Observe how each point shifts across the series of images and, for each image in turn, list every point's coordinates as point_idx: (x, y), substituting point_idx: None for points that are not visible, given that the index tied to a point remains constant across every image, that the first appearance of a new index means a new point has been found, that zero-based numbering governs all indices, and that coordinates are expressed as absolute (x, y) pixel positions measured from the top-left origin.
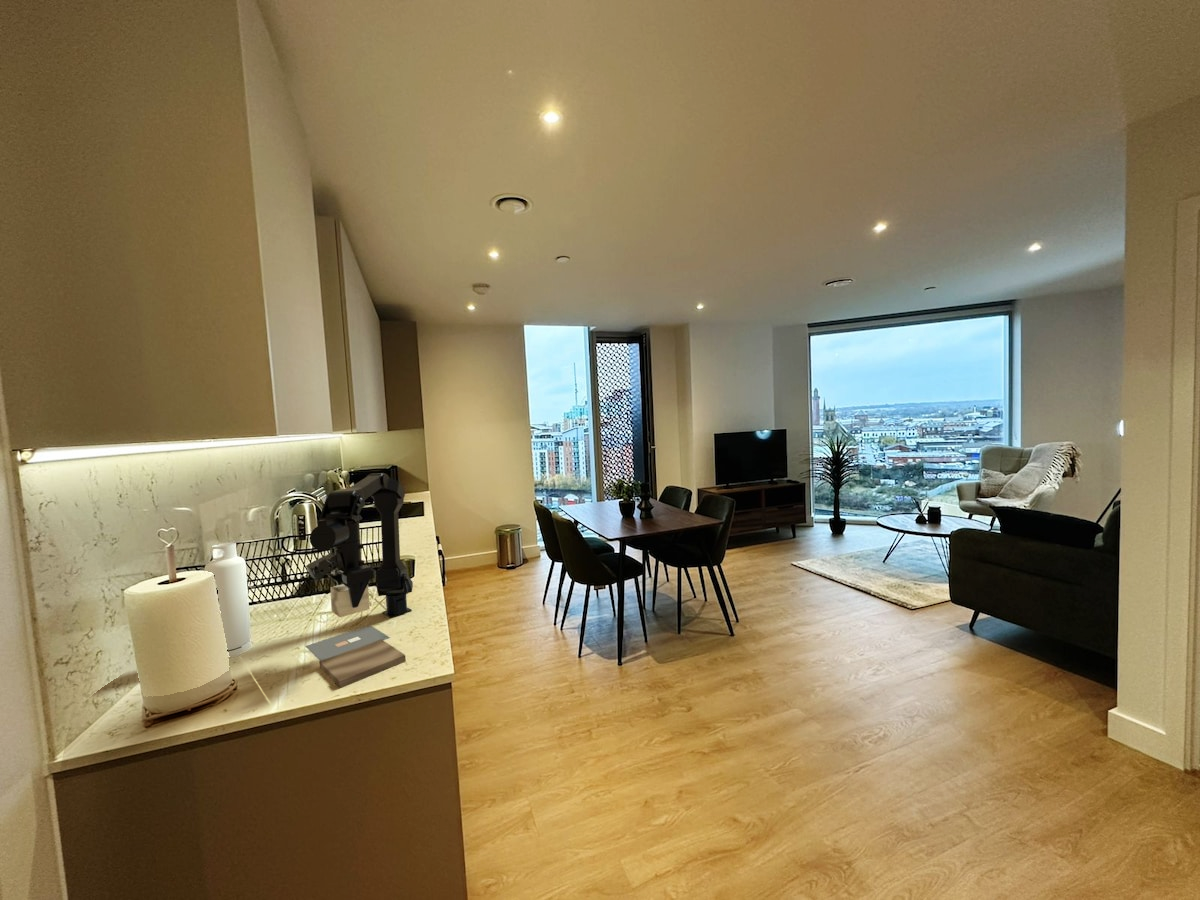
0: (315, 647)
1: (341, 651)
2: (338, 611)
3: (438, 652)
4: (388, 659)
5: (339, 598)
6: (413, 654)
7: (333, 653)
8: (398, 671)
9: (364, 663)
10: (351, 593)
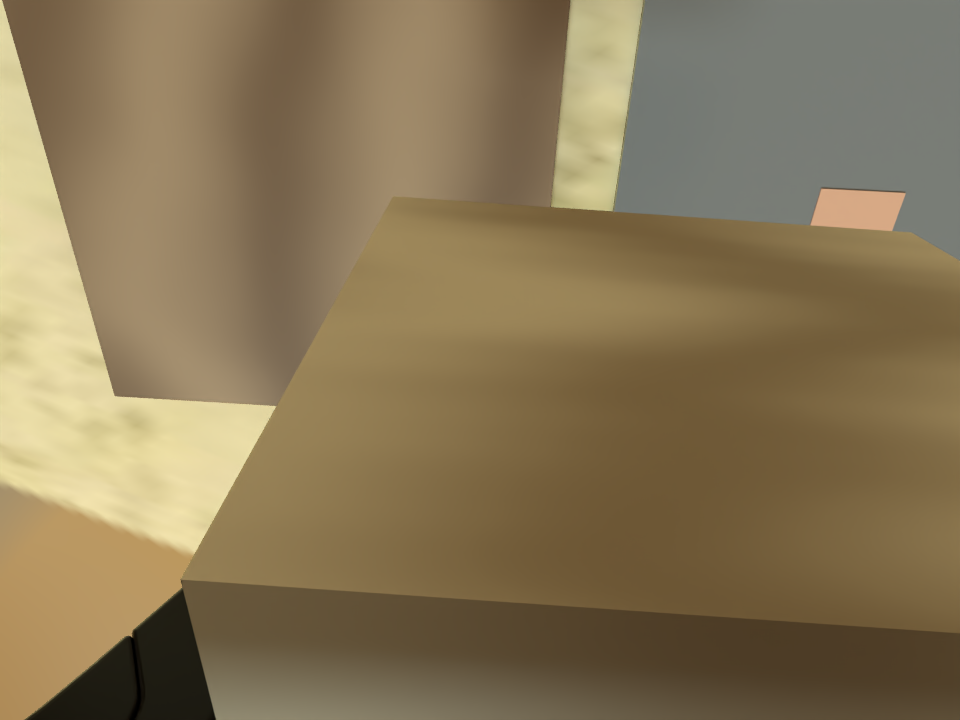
0: None
1: (701, 174)
2: (467, 233)
3: (122, 516)
4: (124, 305)
5: (295, 402)
6: (204, 438)
7: (732, 114)
8: (21, 287)
9: (182, 169)
10: (43, 716)
